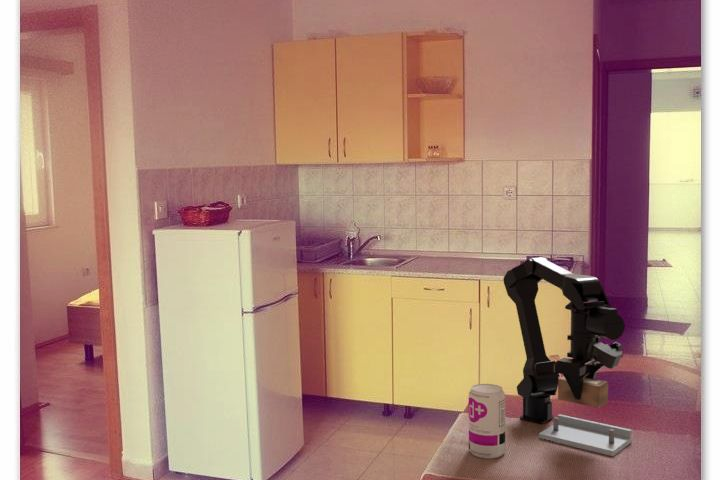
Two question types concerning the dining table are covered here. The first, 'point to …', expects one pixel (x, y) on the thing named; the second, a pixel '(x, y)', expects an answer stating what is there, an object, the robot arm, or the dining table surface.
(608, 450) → the ledge
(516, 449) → the dining table surface
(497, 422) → the supplement can
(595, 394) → the brown wooden block
